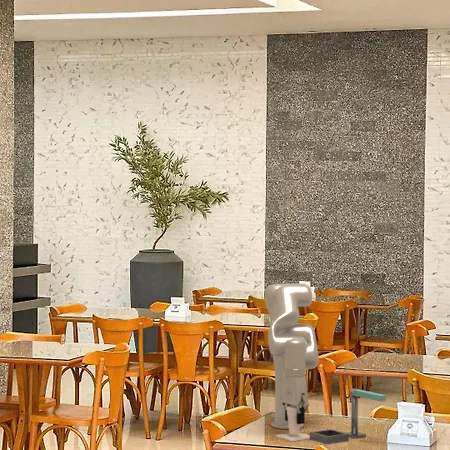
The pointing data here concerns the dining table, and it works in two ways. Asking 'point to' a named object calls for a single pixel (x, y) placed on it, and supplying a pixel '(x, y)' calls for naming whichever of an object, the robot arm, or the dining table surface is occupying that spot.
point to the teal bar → (368, 395)
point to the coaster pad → (294, 437)
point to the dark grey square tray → (329, 436)
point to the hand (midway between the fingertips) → (294, 421)
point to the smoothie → (293, 419)
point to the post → (354, 419)
